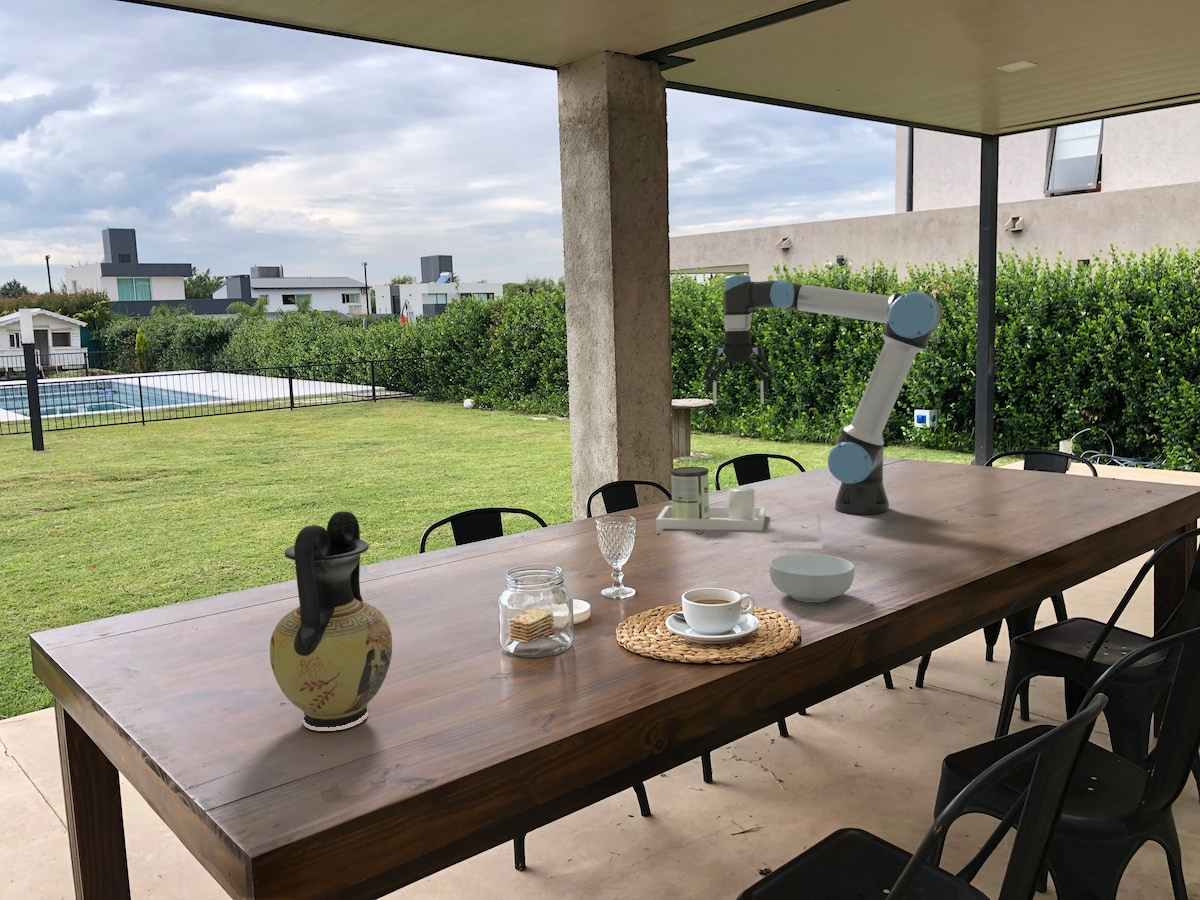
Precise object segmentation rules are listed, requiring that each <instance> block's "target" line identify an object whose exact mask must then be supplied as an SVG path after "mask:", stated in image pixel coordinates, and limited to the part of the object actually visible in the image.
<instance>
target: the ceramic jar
mask: <svg viewBox="0 0 1200 900" xmlns="http://www.w3.org/2000/svg"><path fill="white" fill-rule="evenodd" d="M727 495H728V497H727V502H728V506H727V507H728V519H738V520H755V507H756V506H755V489H754V488H752V487H740V486H739V487H731V488H729V489H727Z"/></svg>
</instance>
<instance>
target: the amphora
mask: <svg viewBox="0 0 1200 900" xmlns="http://www.w3.org/2000/svg"><path fill="white" fill-rule="evenodd" d="M359 524H360V523H359V521H358V519H357V517H356V515H354V513H352V512H351V511H345V510H344V511H343V510H342V511H336V512H334V513H333V514H332V516H331V517H330V519H329V520H328V522H327V527H326V528H325V527H324V526H322V525H321V526H320V525H313V524H312V525H307V526H305V527H303V528H302V529H300V531H299V533H297V536H296V539H295V542H294V545H291V546H289V547H288V548H286V549H285V551H284V555H285V557H286V558H287V559H289V560H293V561H294V563H295V564H294V565H295V571H296V572H295V575H296V583H297V584H296V585H297V592H298V593H297V594H298V600H299V602H298V603H299V606H298V607H296V608H294V609H293V610H291V611H289V612H287V613H286V614H285V615H284V616H283V617H281V619H280V620H279V621H278V622H277V624H276V625H275V627H274V630H273V631H272V634H271V637H270V644H269V658H270V665H271V670H272V672H273V676H274V678H275V680H276V682H277V684H278V686H279V688H280V690H281V692H282V693H283V694H284V696H285V697H286V698H287V700H288V701H290V703H291V704H292V705H293V706H294V707H296V708H298V709H300V710H302V712H303V714H304V716H305V717H304V716H303V718H304V720H305V722H306V723H307V724H309V725H311V726H315V727H328V728H329V727H336V726H342V725H346V724H348V723H351V722H354V721H356V720H358V719H359V718H361V717H362V716H363V715H365V713H366V712H367V710H368V708H367V706H368V704H369V702H371V701H372V700H373V699H374V697H375V696H376V695H377V694H378V692H379V690H380V689H381V687H382V685H383V683H384V681H385V680H386V677H387V674H388V670H389V668H390V664H391V660H392V655H393V637H392V630H391V627H390V624H389V622H388V620H387V618H386V617H385V615H384V614H383V612H382V611H380V609H378V608H377V607H376V606H373V605H372V604H370V603H367V602H365V601H363V597H362V595H361V586H360V572H361V571H360V570H361V569H360V567H361V565H360V564H361V554H364V553H366V552H367V551H368V549H369V548H370V547H369V544H368V542H367V541H365V540H362V539H361V534H360V533H361V531H360V530H361V529H360V525H359Z"/></svg>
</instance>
